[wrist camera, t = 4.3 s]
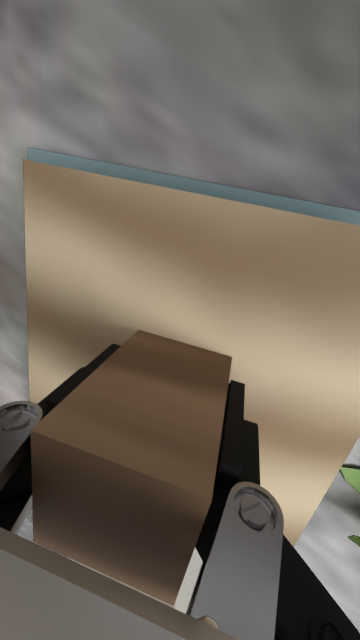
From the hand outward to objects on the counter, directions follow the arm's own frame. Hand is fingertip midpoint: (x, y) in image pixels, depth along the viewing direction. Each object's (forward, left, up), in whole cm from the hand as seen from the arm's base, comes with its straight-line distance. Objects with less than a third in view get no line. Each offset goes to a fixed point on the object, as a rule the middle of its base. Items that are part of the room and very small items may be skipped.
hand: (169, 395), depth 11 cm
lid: (0, 0, -2) cm, 2 cm away
